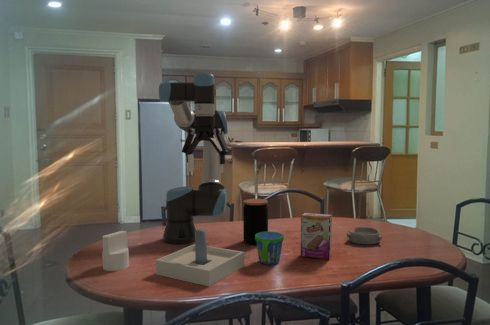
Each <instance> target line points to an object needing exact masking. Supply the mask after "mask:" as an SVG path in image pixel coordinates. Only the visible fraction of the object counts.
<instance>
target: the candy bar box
mask: <svg viewBox="0 0 490 325" xmlns="http://www.w3.org/2000/svg"><path fill="white" fill-rule="evenodd" d="M300 216H301V217H300V218H301V219H300V220H301V221H300V223H301V226H300V257H302V258H311V259H319V260H320V259H321V260H330V258H331V257H332V235H333V234H332V233H333V231H332V229H333V228H332V227H333V215H332V214H323V213H309V212H303V213H302V214H301V215H300Z"/></svg>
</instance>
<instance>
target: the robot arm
mask: <svg viewBox="0 0 490 325" xmlns="http://www.w3.org/2000/svg"><path fill="white" fill-rule="evenodd" d="M214 76H215V75H214V74H212V73H208V72H207V73H205V72H204V73H203V72H202V73H201V72H200V73H196V74H194V75H193V82H191V81H190V82H188V81H187V82H184V81H183V82H181V81H180V82H179V81H175V82H174V81H172V82H170V81H167V82H161V83H160V84H159V86H158V97H159V100H160V102H165V103H168V104H169V107H170V109H171V111H172V113H173V120H174V123H175V124H176V126H177V127H178V128H180V130H182V131H184V132H186V133H187V136H186V139H185V141H184V144H183V146H182V150H181V152H182V153H183V154H185V155H186V158H185V159H186V163H187V172H194V171H195V165H194V164H195V161H194V160H195V159H194V158H195V157H194V153H193V152H194V151H195V149H197V146H198V145H199V143H200V142H201V141H203V146H202V149H203V150H202V172H201V173H202V176H201V177H202V178H201V183H200V184H199V185H198V189H194V188H193V186H187V185H186V186H178V187H174V188H171V189H168V191H166V194H165V198H166V199H165V204H166V205H165V206H166V225H165V227H164V230H163V231H164V232H163V235H162V240H163V242H164V243H166V244H171V245H183V244H191V243H195V230H197V229H196V225H195V223H194V217H220V216H224V215H225V213H226V209H227V204H228V189H226V188H225V185H224V184H222V173H224V165H225V163H226V155H229V154H230V152H231V151H230V150H229V147H228V145H227V143H226V140H225V136H226V135H228V133H229V132H228V122H227V115H226V112H225V111H224V110H218V109H216V110H215V108H216V107H215V97H216V95H217V89H216V87H215V82H216V81H215V77H214ZM188 102H193V103H194V108H193V109H194V110H192V109H190V105H189V103H188Z"/></svg>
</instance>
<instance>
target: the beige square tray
mask: <svg viewBox="0 0 490 325" xmlns="http://www.w3.org/2000/svg"><path fill="white" fill-rule="evenodd" d="M244 266H245V252H244V251H242V250H241V251H240V250H234V249H227V248H222V247H218V246H217V247H216V246H210V245H207V264H205V265H200V264H195V243H193V244H191V245H189V246H186V247H184V248H183V247H182V248H181V249H179V250H176V251H174V252H172V253H169V254H167V255H164V256H162V257H160V258H157V259H155V275H157V276H162V277H167V278H170V279H175V280H180V281H184V282H187V283H192V284H197V285H200V286H204V287H205V286H206V287H211V286H213V285H214V284H216V283H218V282H220V281H222V280H223V279H225V278H226V277H229V276H230V275H232V274H233V273H235V272H236V271H238V270H240V269H241V268H243V267H244Z"/></svg>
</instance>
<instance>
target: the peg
mask: <svg viewBox="0 0 490 325" xmlns="http://www.w3.org/2000/svg"><path fill="white" fill-rule="evenodd" d="M207 236H208V234H207V229H204V228H202V229H201V228H199V229H196V230H195V241H194V244H195V264H200V265H205V264H207V246H208V245H207V244H208V243H207V240H208V239H207V238H208V237H207Z"/></svg>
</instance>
